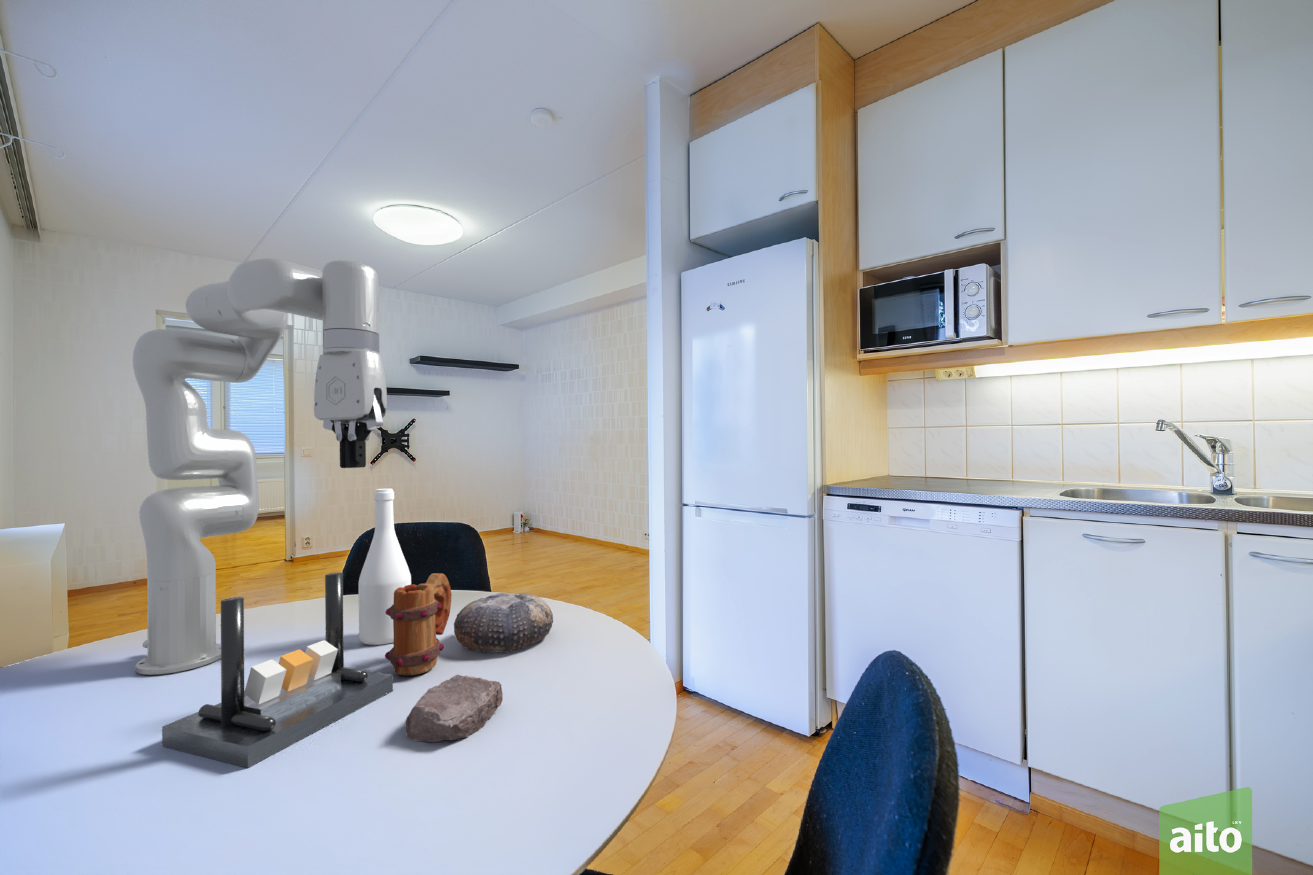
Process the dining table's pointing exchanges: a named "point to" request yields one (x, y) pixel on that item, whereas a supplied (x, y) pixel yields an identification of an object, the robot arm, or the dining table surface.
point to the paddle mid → (295, 669)
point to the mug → (419, 624)
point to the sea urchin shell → (503, 622)
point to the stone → (453, 709)
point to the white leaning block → (321, 659)
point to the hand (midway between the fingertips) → (353, 467)
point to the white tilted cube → (265, 681)
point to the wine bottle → (381, 575)
